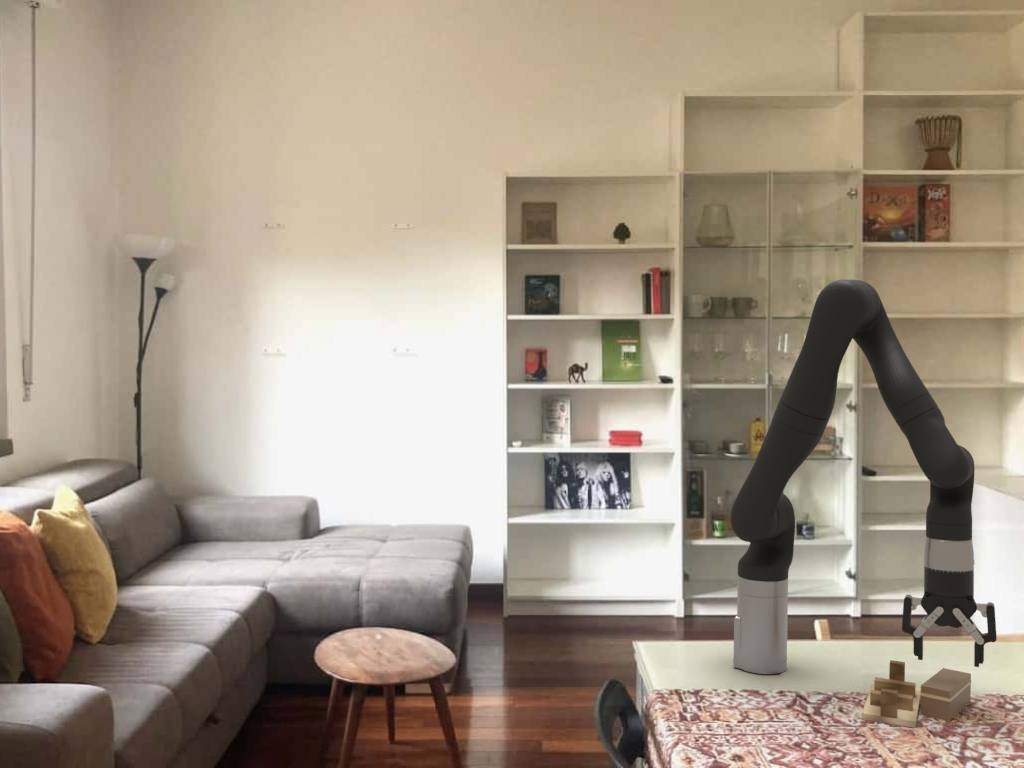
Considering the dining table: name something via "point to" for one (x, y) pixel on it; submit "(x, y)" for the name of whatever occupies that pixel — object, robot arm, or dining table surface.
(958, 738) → the dining table surface
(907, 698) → the display cradle
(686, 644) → the dining table surface
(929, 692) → the brown rectangular box
